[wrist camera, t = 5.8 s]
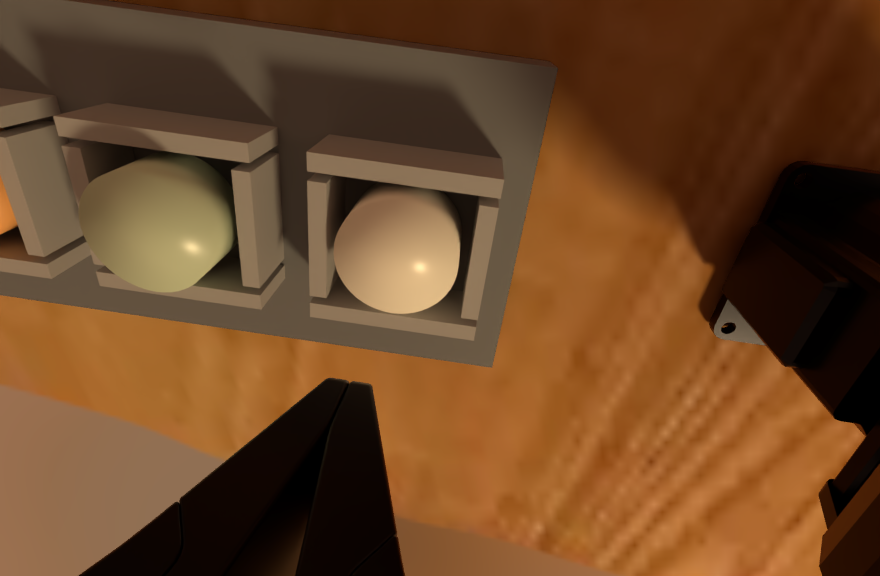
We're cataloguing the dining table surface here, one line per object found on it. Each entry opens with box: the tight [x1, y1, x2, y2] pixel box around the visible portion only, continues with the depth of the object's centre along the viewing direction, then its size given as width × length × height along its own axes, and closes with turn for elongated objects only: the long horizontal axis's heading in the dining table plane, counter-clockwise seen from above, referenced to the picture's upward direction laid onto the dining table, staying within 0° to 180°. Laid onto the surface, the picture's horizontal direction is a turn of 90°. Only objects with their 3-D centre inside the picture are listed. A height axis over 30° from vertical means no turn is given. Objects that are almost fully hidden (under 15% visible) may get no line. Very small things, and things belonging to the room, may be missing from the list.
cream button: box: [333, 182, 462, 314], centre depth 14 cm, size 3×3×2 cm
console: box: [0, 0, 558, 368], centre depth 15 cm, size 20×10×4 cm, turn 84°
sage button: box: [78, 151, 238, 292], centre depth 13 cm, size 3×3×2 cm
